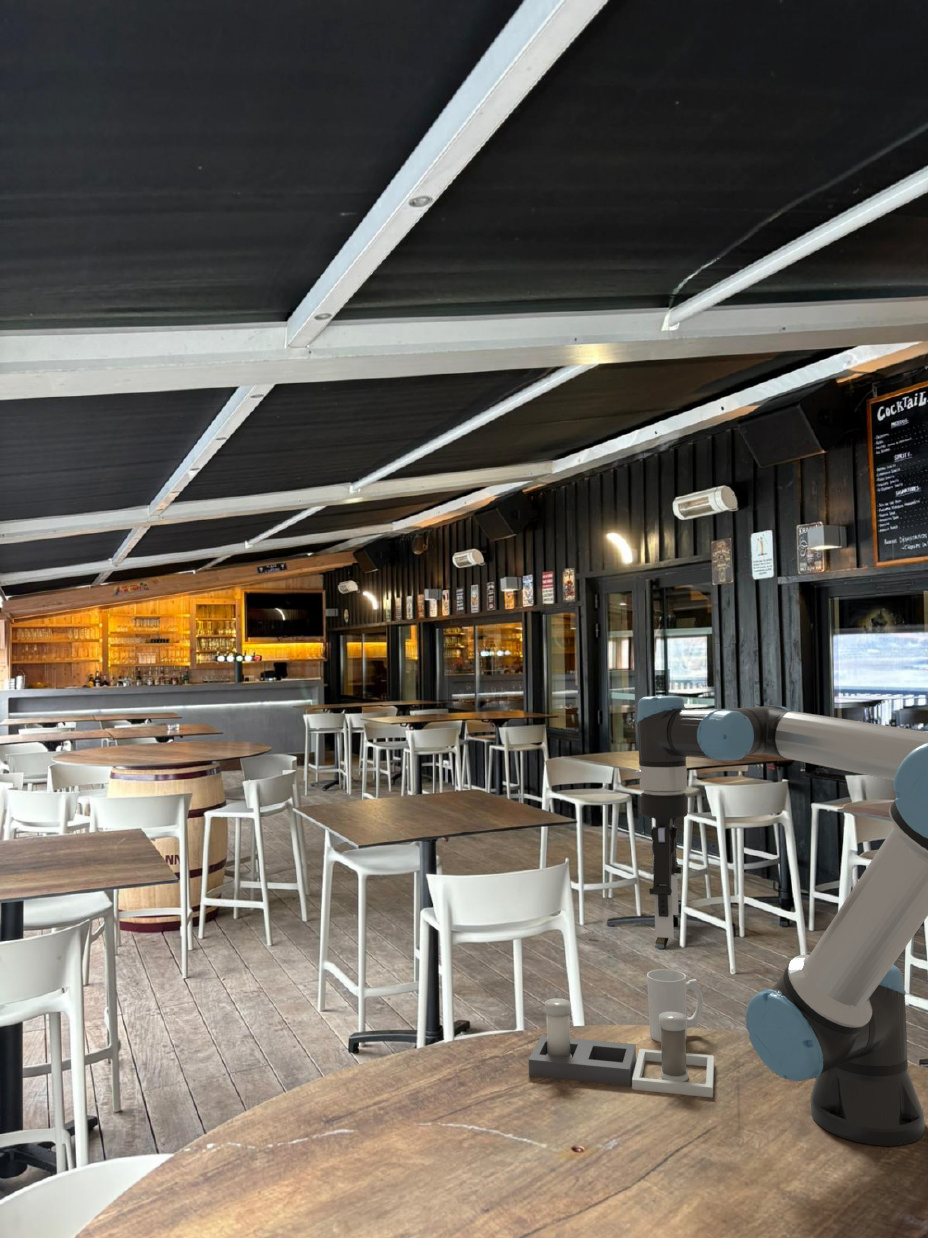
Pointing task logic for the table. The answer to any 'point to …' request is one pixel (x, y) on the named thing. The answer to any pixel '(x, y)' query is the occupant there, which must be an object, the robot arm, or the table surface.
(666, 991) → the mug
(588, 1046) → the block
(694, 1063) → the tray
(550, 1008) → the peg
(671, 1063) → the fuse
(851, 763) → the robot arm
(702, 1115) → the table surface
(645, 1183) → the table surface
